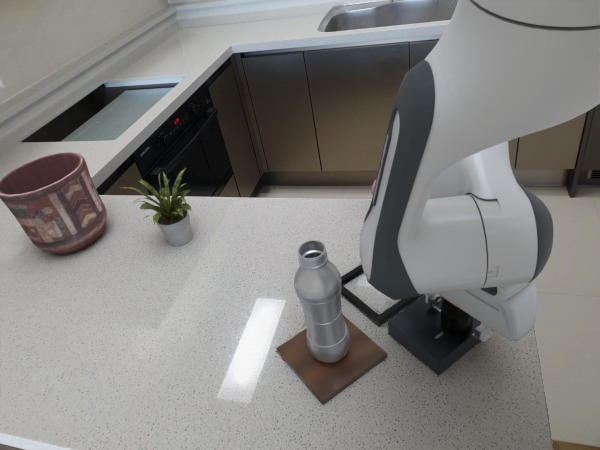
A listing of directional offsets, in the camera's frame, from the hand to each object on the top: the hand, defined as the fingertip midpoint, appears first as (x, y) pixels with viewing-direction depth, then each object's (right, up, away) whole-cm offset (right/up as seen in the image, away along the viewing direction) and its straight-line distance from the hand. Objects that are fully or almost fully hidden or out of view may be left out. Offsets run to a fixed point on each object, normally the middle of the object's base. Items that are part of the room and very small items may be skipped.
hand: (456, 319), depth 66 cm
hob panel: (-2, -3, +3) cm, 5 cm away
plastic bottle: (-18, -5, +3) cm, 19 cm away
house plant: (-50, +10, +33) cm, 61 cm away
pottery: (-74, +10, +40) cm, 85 cm away
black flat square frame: (-9, +3, +13) cm, 15 cm away
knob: (0, -1, 0) cm, 1 cm away
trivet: (-18, -6, +3) cm, 19 cm away
